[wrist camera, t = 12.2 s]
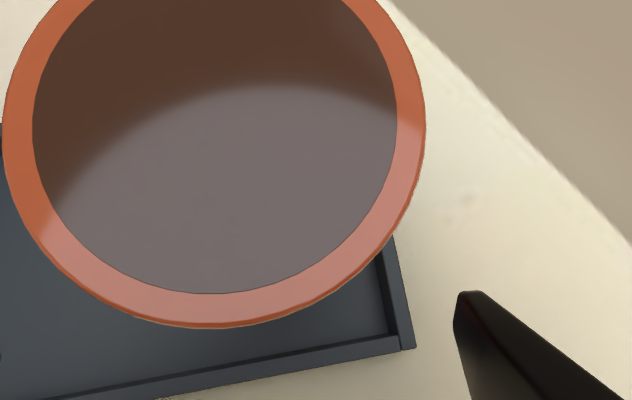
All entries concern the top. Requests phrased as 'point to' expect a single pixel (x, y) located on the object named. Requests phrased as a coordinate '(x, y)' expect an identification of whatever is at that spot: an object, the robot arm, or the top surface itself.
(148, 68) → the tumbler
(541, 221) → the top surface
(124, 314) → the tray
